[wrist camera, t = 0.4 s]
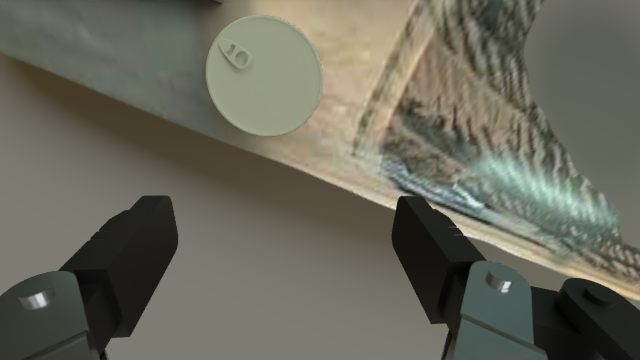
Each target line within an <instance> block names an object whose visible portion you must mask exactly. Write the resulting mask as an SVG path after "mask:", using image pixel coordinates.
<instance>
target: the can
mask: <svg viewBox="0 0 640 360" xmlns="http://www.w3.org/2000/svg"><path fill="white" fill-rule="evenodd" d="M206 82H207V87H208V90H209V94H210V96H211V98H212V101H213V102H214V104H215V106H216V108H217V109H218V111H219V112H220V113H221V114H222V115H223V117H224V118H225V119H226V120H228V121H229V122H230V123H231V124H232V125H234V126H235V127H237V128H238V129H240V130H242V131H244V132H247V133H249V134H253V135H257V136H264V137H273V136H280V135H284V134H287V133H289V132H292V131H294V130H296V129H297V128H299V127H300V126H302V125H303V124H304V123H305V122H306V121H307V120H308V119H309V118H310V117H311V116H312V114H313V113H314V111H315V110H316V108H317V106H318V103H319V101H320V98H321V94H322V89H323V70H322V65H321V61H320V58H319V55H318V53H317V51H316V49H315V47H314V46H313V44H312V42H311V41H310V40H309V38H308V37H307V36H306V35H305V34H304V33H303V32H302V31H301V30H300V29H299V28H297V27H296V26H295V25H293V24H291V23H290V22H288V21H286V20H284V19H281V18H278V17H275V16H270V15H251V16H246V17H243V18H240V19H238V20H236V21H234V22H232V23H231V24H229V25H228V26H227V27H225V28H224V29H223V30H222V31H221V32H220V33H219V34H218V36H217V37H216V39H215V40H214V42H213V44H212V46H211V48H210V50H209V53H208V57H207V61H206Z"/></svg>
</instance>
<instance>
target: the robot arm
mask: <svg viewBox="0 0 640 360" xmlns="http://www.w3.org/2000/svg"><path fill="white" fill-rule="evenodd" d="M392 243H393V248H394V250H395V252H396V254H397V256H398V258H399V260H400V262H401V264H402V266H403V268H404V270H405V272H406V274H407V276H408V278H409V280H410V282H411V284H412V286H413V288H414V290H415V292H416V295H417V297H418V299H419V300H420V303H421V305H422V307H423V308H424V310H425V313H426V315H427V317H428V319H429V321H430V323H431V324H439V323H440V324H442V323H446V324H447V326H448V328H449V331H448V334H447V337H446V341H445V345H444V349H443V352H442V356H441V360H640V310H638V309H637V308H636V307H635V306H633V305H632V304H631V303H630V302H629V301H627V300H626V299H625V298H624V297H622V296H621V295H619V294H618V293H616V292H615V291H613V290H611V289H610V288H608V287H605V286H603V285H601V284H599V283H596V282H593V281H590V280H586V279H581V278H570V279H567V280H566V281H565V282H564V283H563V285H562V287H561V289H560V291H559V292H557V291H552V290H547V289H543V288H538V287H532V286H530V285H529V283H528V282H527V280H526V279H525V278H524V277H523V276H522V275H521V274H519V273H518V272H517V271H515V270H513V269H512V268H510V267H508V266H506V265H503V264H501V263H497V262H493V261H487V260H486V259H485V258H484V257H483V255H482V254H481V253H480V252H479V251H478V250H477V249H476V248H475V246H474V245H473V244H472V243H471V242H470V241H469V240H468V238H467V237H466V236H463V233H462V232H461V231H460V229H459V228H457V227H456V225H455V224H454V223H453V222H452V220H451V219H450V218H449V217H448V216H446V215H444V214H443V213H441V212H440V211H438V210H436V209H432V207H431V206H430V205H429V204H428V203H427V201H426V200H425V199H424V198H423V197H422V196H400V197H399V199H398V202H397V207H396V213H395V218H394V223H393V229H392ZM177 245H178V232H177V227H176V221H175V216H174V211H173V206H172V201H171V199H170V197H169V196H142V197H141V198H140V199H139V200H138V201H137V202H136V203H135V204H134V206H132V208H131V209H130V210H125V211H123V212H121V213H120V214H118V215H116V216H114V217H112V218H111V219H109V220H108V221H107V222H106V223H105V224H104V225H103V226H102V227H101V228H100V229H99V232H96V233H95V234H94V235H93V236H92V237H91V239H90V241H87V242H86V243H85V244H84V245H83V246H82V247H81V248H80V249H79V250H78V251H77V252H76V253H75V254H74V255H73V256H72V257H71V258H70V259H69V260H68V261H67V262H66V263H65V264H64V265H63V266H62V267H61V268H60V269H59V270H58V271H52V272H47V273H43V274H39V275H36V276H33V277H31V278H28V279H26V280H24V281H22V282H20V283H18V284H16V285H14V286H13V287H11V288H10V289H9V290H7V291H6V292H5V293H3V294H2V295H1V296H0V360H109V358H108V355H107V352H106V350H105V348H106V346H107V344H108V342H109V341H110V339H111V338H117V337H130V335H131V334H132V332H133V330H134V328H135V326H136V325H137V323H138V321H139V319H140V317H141V315H142V313H143V311H144V310H145V307H146V306H147V304H148V302H149V300H150V299H151V297H152V295H153V293H154V291H155V289H156V287H157V285H158V284H159V282H160V280H161V278H162V276H163V274H164V273H165V271H166V269H167V267H168V265H169V263H170V261H171V259H172V258H173V256H174V254H175V252H176V249H177Z"/></svg>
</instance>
